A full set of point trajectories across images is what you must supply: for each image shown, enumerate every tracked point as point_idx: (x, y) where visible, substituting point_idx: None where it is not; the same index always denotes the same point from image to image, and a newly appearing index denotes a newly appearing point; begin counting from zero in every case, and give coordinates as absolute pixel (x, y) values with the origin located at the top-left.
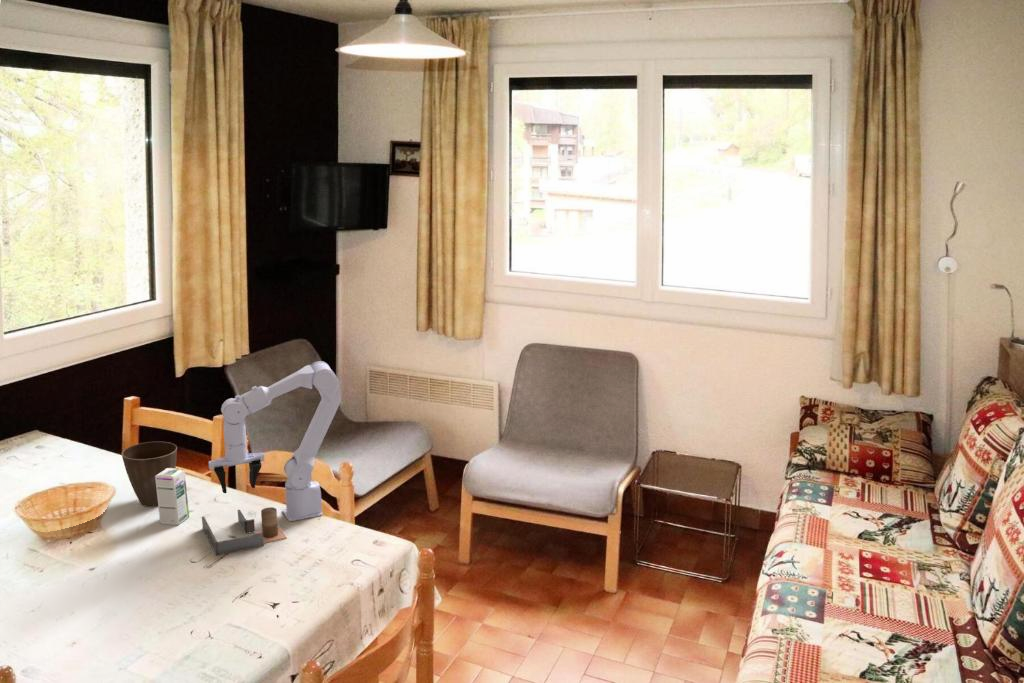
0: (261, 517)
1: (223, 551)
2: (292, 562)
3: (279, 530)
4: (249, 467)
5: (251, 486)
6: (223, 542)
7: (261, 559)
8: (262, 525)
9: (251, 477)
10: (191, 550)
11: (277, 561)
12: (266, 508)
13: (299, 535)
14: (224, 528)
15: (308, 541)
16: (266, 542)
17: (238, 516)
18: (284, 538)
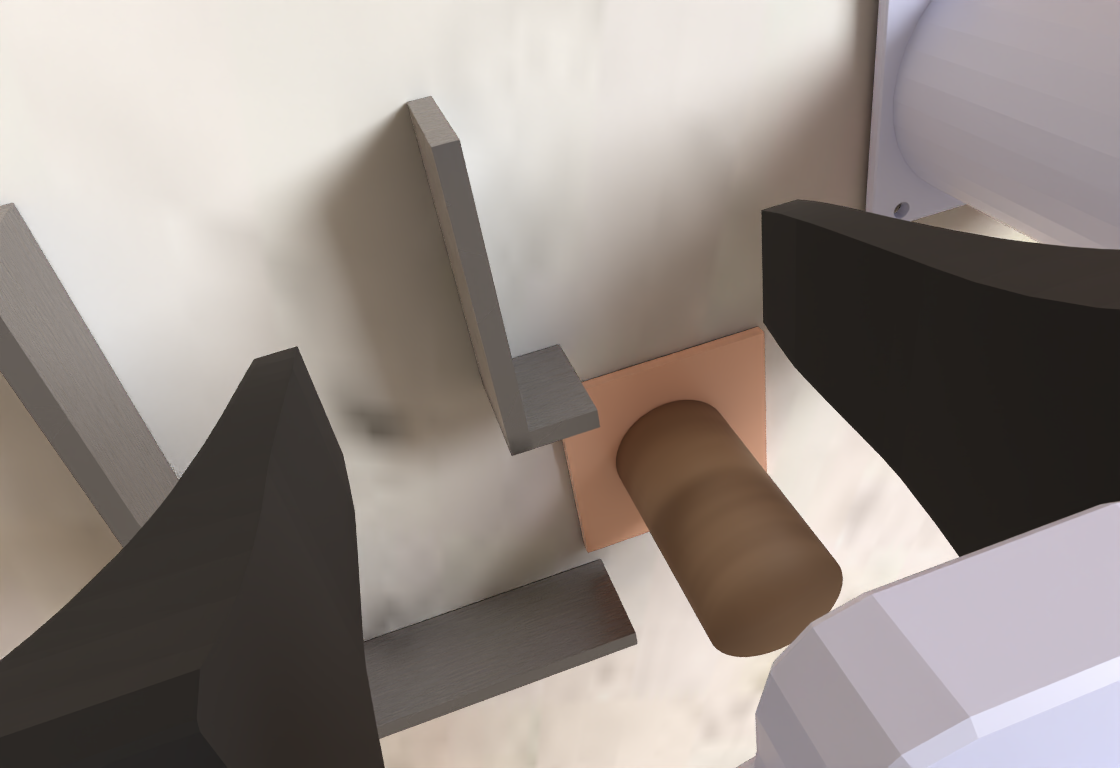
0: (681, 577)
1: None
2: (720, 715)
3: (748, 391)
4: (1035, 301)
5: (766, 264)
6: None
7: (571, 700)
8: (655, 541)
9: (876, 349)
10: (34, 620)
11: (651, 712)
12: (767, 573)
13: (847, 447)
14: (265, 244)
15: (865, 523)
16: (627, 532)
17: (426, 154)
18: None
